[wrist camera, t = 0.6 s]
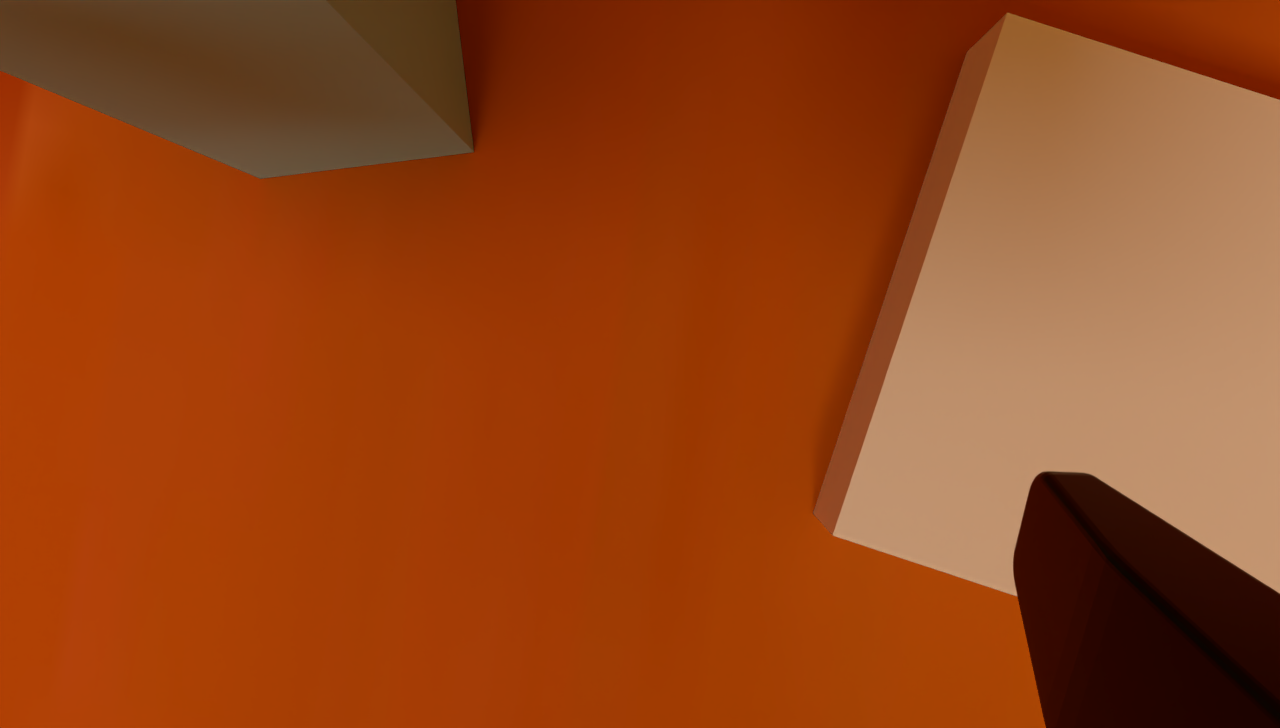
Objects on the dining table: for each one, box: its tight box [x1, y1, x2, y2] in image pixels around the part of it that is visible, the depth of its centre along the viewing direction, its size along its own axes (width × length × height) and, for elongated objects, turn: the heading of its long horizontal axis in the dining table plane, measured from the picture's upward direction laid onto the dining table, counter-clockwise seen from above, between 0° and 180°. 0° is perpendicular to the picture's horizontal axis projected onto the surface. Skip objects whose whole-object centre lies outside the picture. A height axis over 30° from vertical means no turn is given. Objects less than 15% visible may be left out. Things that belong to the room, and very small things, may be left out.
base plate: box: [813, 12, 1280, 597], centre depth 21 cm, size 10×10×3 cm
